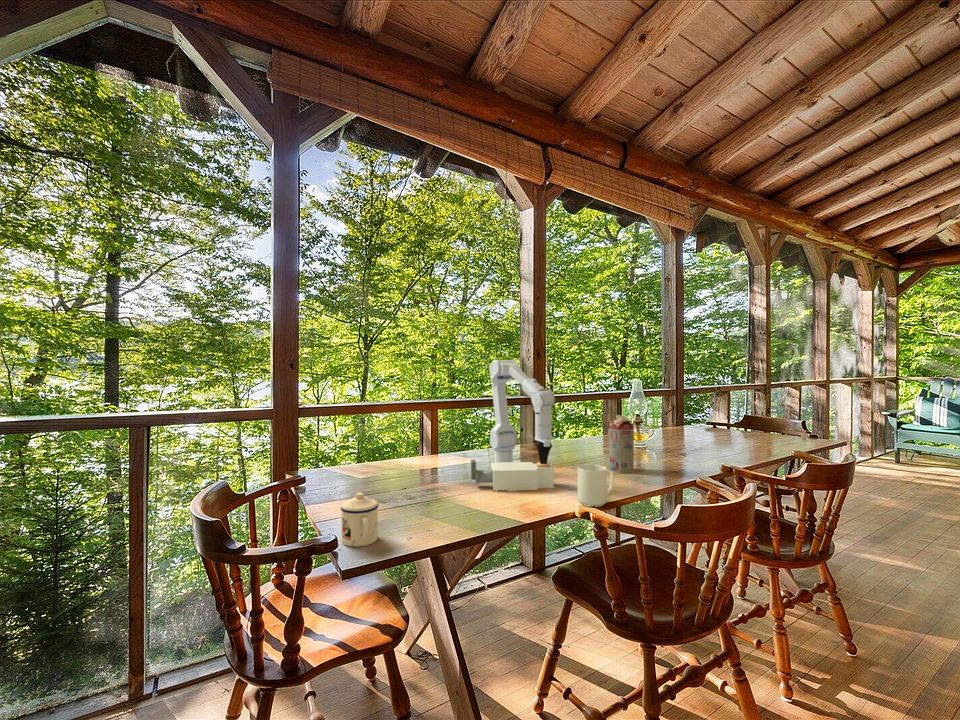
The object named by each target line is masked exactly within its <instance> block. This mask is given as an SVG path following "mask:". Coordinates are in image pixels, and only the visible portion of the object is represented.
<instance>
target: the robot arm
mask: <svg viewBox="0 0 960 720" xmlns="http://www.w3.org/2000/svg"><path fill="white" fill-rule="evenodd" d="M488 368H489V369H488V370H489V375H490V376H489V377H490V381H491V389H492V391H491V392H492V398H493V399H492V400H493V409H494V419H495V425H494V427H492V429H491V430H490V437H489V444H490V446H491V448H492V450H493V451H494V455H493V456H494V461H493V463H499V462H514V459H513V457H514V454H513V453H514V450H515V447H516V446H517V445H518V436H517V434H516V429H515V427H514V426H512V425H511V424H510V419H509V409H508V400H507V398H508V397H507V391H506V389H507V388H506V384H507V383H508V382H509V381H511V379H514V380H515V381H517V382H518V383H519V384H520V385H521V389H522V391H523V392H524V393H525V394H526V395H527V396H528V397H529V398H530V400H531V404H532V406H533V411H534V413H535V415H534V435H535V436H534V441H537V442H534V446H535V448H536V450H537V454H538V455H537V456H538V460H539V461H538V462H540V464H547V462H548V460H549V455H550V451H551V449H552V447H553V444H552V441H553V440H554V441H555V440H556V437H555V436H553V435H552V421H553V420H552V419H553V418H552V417H553V416H552V411H553V410H552V408H553V407H552V406H554V405H555V402H556V395H555V394H554V392H553V391H552V390H550V389H548V390H547V389H545V387H544V386H542V385H541V384H540V383H539V382H538V381H537V379H536V378H529V377H528V375H526V373H524V371H523V370H522V369H521V367H520V363H518V362H517V361H516V360H515V359H509V360H508V359H500V360H498V359H494V360H492V362H491V363H490V365H489V367H488Z"/></svg>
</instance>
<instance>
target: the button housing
mask: <svg viewBox="0 0 960 720" xmlns="http://www.w3.org/2000/svg"><path fill="white" fill-rule="evenodd" d="M554 469H555V467H554V466H553V465H552V464H551V463H550V466H548V467H538V466H537V463H534V462H532V461H519V462H518V461H515V462H514V461H513V462H499V463H494V462H490V470H493V483H492V484H491V487H492V486H493V487H492V491H493V490H496V491H495V492H499V491H498V490H503V491H502V492H505V491H504V490H508V491H507V492H516V491H515V490H538V491H539V489H554V485H555V484H554V483H555V482H554V479H555V478H554V477H555V474H554V473H555V471H554ZM512 490H513V491H512Z"/></svg>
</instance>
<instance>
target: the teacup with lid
mask: <svg viewBox="0 0 960 720" xmlns="http://www.w3.org/2000/svg"><path fill="white" fill-rule="evenodd" d="M379 506H380V505H379V502H378V501H377V500H375V499H373V498H369V497H367V496H365V494H364V493H363V492H358V493H356V494H355V496H354V497H353V498H351V499H350V500H346V501H344V502H343V503H341V506H340V510H341V542H342V544H343V545H345V546H348V547H353V548H358V547H360V548H361V547H366V546H369V545H371V544H374V543H375V542H376V541H377V540H378V531H379V529H378V526H379V525H378V524H379V523H378V522H379V520H378V519H379V518H378V517H379V513H378V508H379Z"/></svg>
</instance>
